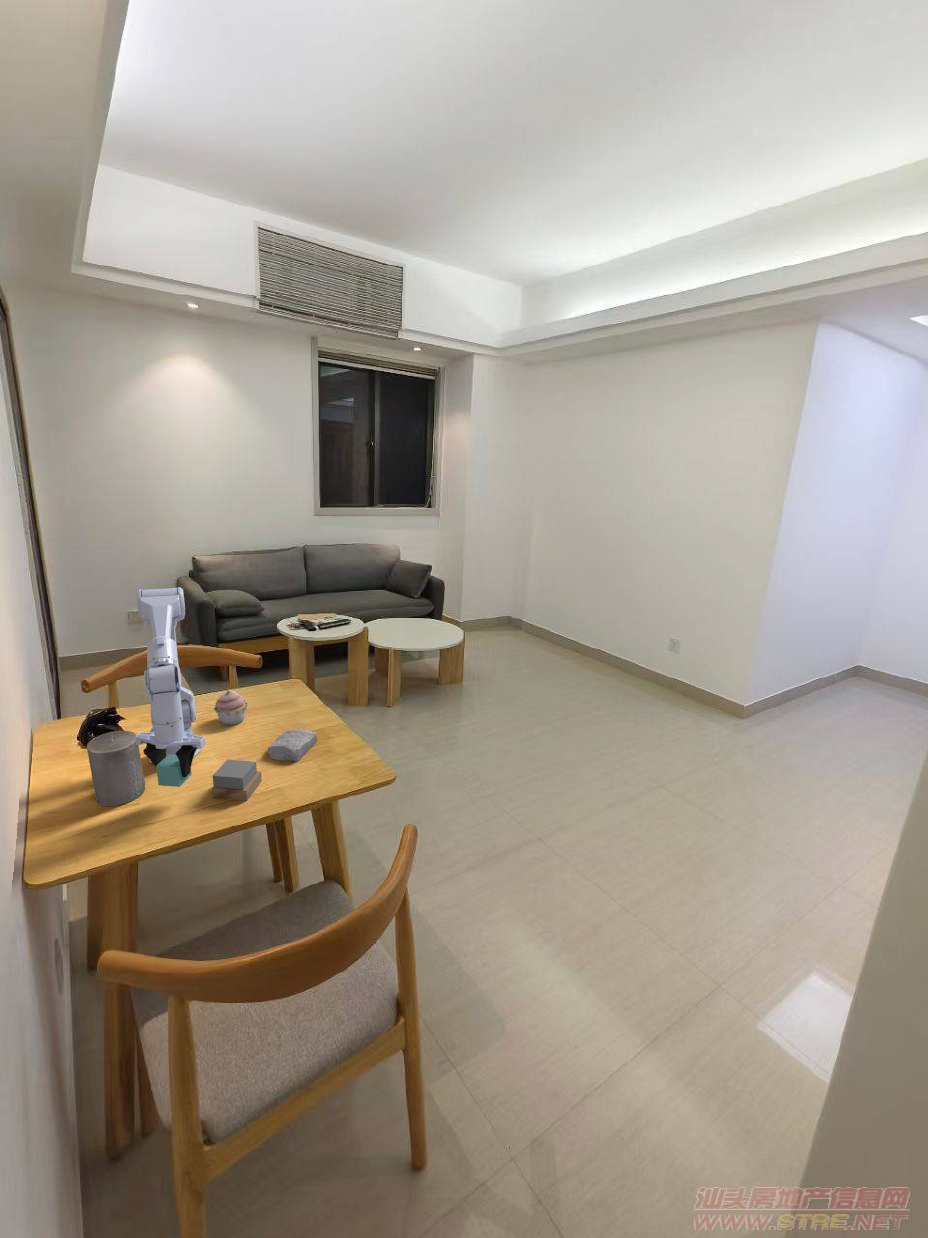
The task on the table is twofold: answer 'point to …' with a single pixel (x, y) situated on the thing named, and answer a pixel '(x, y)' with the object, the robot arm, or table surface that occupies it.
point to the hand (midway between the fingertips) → (174, 774)
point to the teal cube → (170, 772)
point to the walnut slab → (238, 790)
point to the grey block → (234, 774)
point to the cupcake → (230, 708)
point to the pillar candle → (116, 768)
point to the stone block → (292, 745)
